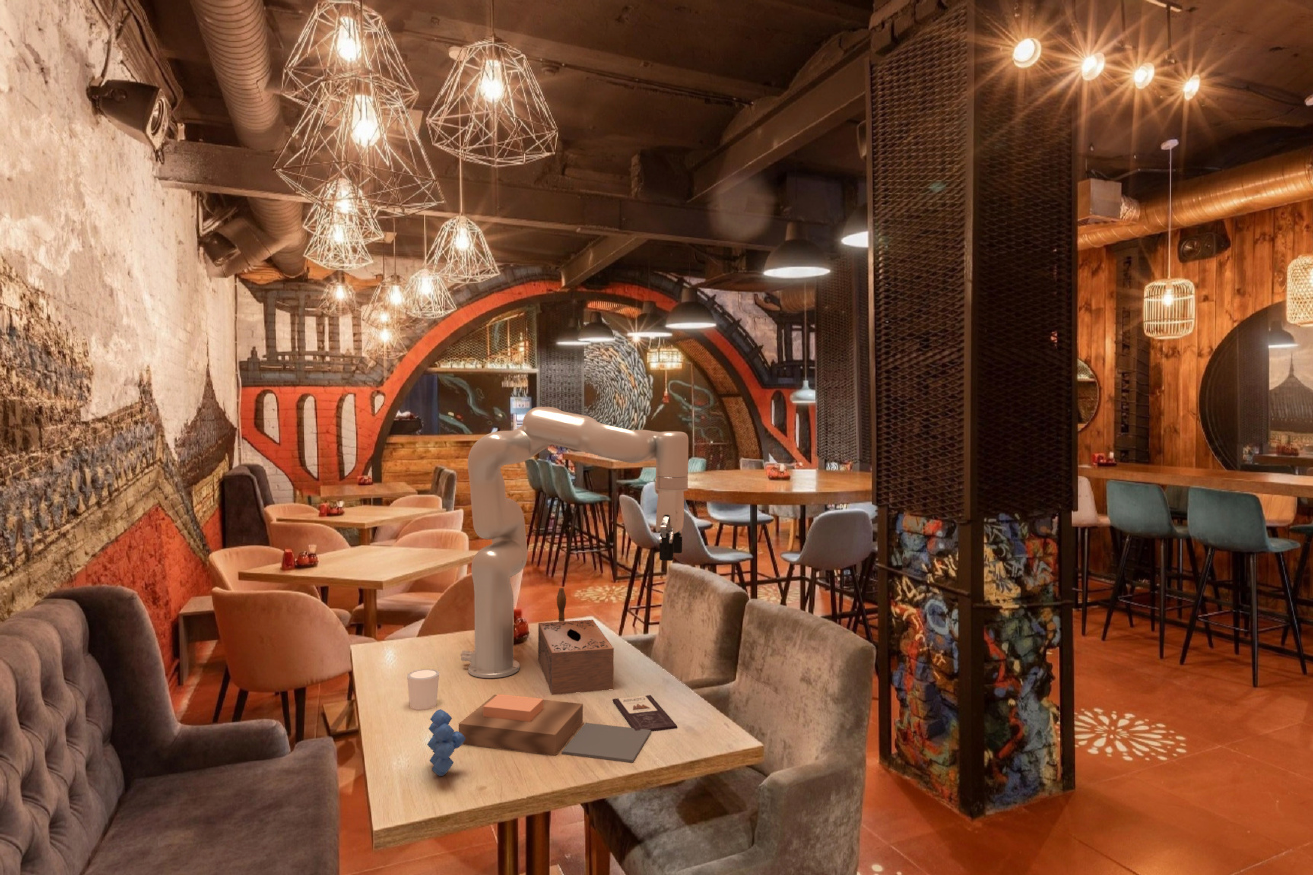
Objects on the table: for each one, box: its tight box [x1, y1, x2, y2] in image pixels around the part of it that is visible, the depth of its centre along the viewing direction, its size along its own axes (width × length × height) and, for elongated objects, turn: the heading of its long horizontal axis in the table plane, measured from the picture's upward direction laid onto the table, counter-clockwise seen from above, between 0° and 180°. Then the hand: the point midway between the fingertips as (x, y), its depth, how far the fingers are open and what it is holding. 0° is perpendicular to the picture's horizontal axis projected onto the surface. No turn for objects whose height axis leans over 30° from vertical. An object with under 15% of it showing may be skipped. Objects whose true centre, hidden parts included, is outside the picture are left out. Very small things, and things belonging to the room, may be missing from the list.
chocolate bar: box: [612, 694, 678, 733], centre depth 166 cm, size 9×1×18 cm
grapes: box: [427, 709, 466, 777], centre depth 138 cm, size 12×7×12 cm, turn 24°
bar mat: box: [561, 722, 652, 764], centre depth 152 cm, size 14×14×1 cm
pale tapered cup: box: [406, 668, 440, 711], centre depth 170 cm, size 7×7×7 cm
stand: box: [458, 694, 584, 756], centre depth 156 cm, size 20×16×4 cm
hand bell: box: [556, 587, 567, 622], centre depth 214 cm, size 8×8×16 cm
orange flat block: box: [483, 693, 544, 722], centre depth 156 cm, size 10×7×2 cm
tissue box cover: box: [537, 619, 615, 696], centre depth 191 cm, size 26×14×10 cm, turn 16°
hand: (670, 556), depth 182 cm, fingers open, 9 cm apart
